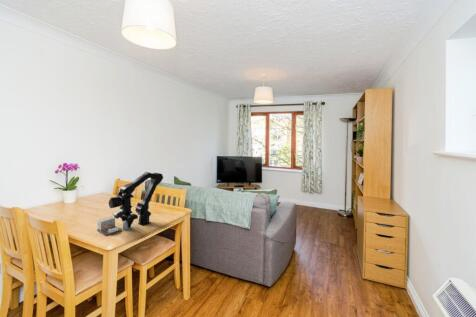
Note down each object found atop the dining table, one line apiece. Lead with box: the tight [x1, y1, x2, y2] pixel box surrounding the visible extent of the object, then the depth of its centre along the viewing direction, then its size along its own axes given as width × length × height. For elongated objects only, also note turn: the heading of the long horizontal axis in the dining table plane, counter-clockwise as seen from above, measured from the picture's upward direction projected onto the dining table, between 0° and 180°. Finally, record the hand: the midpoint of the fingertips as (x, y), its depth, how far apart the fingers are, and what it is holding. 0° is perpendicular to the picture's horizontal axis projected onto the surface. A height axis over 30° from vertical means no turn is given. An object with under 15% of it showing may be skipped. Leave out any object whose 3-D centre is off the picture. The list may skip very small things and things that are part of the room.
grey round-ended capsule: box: [122, 220, 132, 231], centre depth 158 cm, size 5×5×6 cm
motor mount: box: [96, 216, 123, 237], centre depth 154 cm, size 10×13×7 cm
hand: (127, 226), depth 158 cm, fingers open, 5 cm apart
